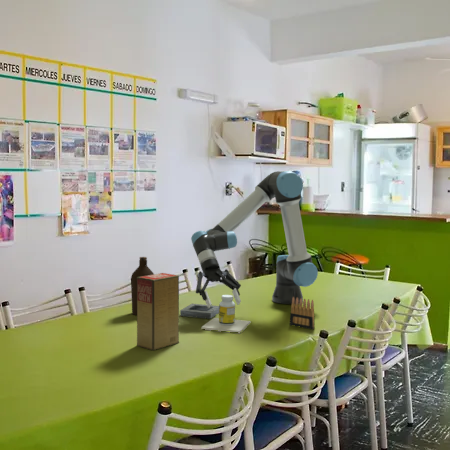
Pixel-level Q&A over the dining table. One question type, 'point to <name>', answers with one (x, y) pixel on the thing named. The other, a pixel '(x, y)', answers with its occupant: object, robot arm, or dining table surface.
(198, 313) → the metal collar
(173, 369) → the dining table surface
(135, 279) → the olive oil
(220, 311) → the pill bottle
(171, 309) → the food packaging
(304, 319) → the ammunition clip
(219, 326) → the cream tile
